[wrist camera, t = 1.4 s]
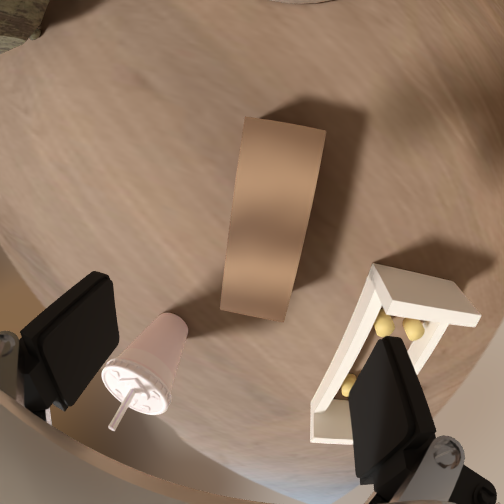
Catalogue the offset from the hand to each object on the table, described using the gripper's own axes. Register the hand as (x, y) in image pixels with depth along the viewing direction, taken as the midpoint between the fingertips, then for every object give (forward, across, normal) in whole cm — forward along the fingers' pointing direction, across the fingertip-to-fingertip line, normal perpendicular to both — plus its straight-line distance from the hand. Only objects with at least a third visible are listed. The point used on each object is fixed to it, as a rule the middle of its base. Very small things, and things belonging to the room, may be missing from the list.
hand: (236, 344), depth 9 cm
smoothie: (+15, +8, +13) cm, 22 cm away
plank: (+15, 0, -1) cm, 15 cm away
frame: (+15, -14, +11) cm, 23 cm away
